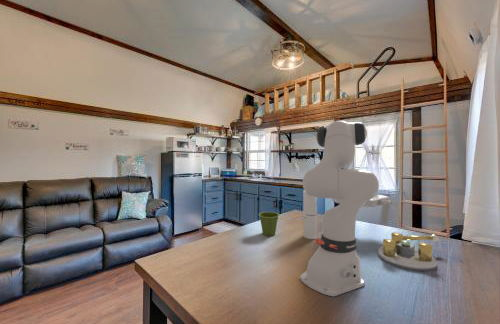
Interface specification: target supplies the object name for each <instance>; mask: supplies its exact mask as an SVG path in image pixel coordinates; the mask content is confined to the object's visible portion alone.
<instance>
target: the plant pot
mask: <svg viewBox="0 0 500 324" xmlns="http://www.w3.org/2000/svg"><path fill="white" fill-rule="evenodd" d="M258 217H259V220H260V225H261V231H262V234H263V236H267V237H272V236H274V235H276V233H277V225H278V220H279V217H280V213H278V212H273V211H262V212H260V213H258Z"/></svg>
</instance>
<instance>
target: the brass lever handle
mask: <svg viewBox="0 0 500 324" xmlns="http://www.w3.org/2000/svg"><path fill="white" fill-rule="evenodd" d="M390 239H391V240H394V241H395V248H396V245H397V244H398V243H400V242H401V241H402V240H405V241H432V242H434V243H436V242H438V241H439V236H437V235H436V234H431V235H404V234H403V233H402V232H401V233H400V232H391V237H390Z"/></svg>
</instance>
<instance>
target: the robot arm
mask: <svg viewBox="0 0 500 324" xmlns="http://www.w3.org/2000/svg"><path fill="white" fill-rule="evenodd" d="M367 137H368V130H367V128H366V126H365V124H364V123H362V122H359V121H358V122H357V121H355V122H347V121H345V120H334V121H333V122H331V123H330V124H329V125H323V126H322V125H321V126H320V127H319V128H318V129H317V130H316V135H315V138H316V142H317V144H318V145H319V146H320V148H321V147H322V148H323V154H322V155H323V156H322V158H321V160H320V161H319V163H317V165H316V166H314V167H313V168H312V169H310V170H307V171H306V173H305V174H304V175H303V179H302V188H303V191H305V192H306V193H307V194H308V195H310V196H314V197H317V198H319V199H331V200H332V201H333V202H334V203H335V204H338V205H337V206H334V207H331V208H329V209H327V210H326V211H325V212H324V213H323V215H322V234H321V235H320V238H318V237H317V238H316V239H315V241H314V242H315V244H316V245H319V247H318V248H317V250H316V251H315V252H314V253H313V255H312V256H311V257H310V259H309V260H308V262H307V268H306V270H305V271H304V272H303V273H301V274H300V276H299V279H300V281H301V282H302V283H303V284H305V286H307V287H309V288H310V289H312V290H314V291H315V292H318V293H320V294H323V295H326V296H330V297H336V296H339V295H342V294H344V293H347V292H350V291H353V290H356V289H358V288H361V287H365V280H364V279H363V278H362V271H361V260H360V257H359V256H358V254H357V251H356V250H357V244H358V243H357V237H356V222H357V216H358V214H359V211H360V210H361V208H366V209H368V208H376V207H380V206H383V205H385V206H391V205H392V206H393V205H394V201H393V200H391V198H390V196H387V195H382V194H377V193H378V192H379V187H380V184H379V179H378V178H377V175H376V174H375V173H373V172H372V171H368V170H364V169H357V168H350V166H351V164H352V163H353V162H354V158H355V155H356V149H355V147H356V146H360V145H363V144H364V143H365V142H366V139H367Z"/></svg>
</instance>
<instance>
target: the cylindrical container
mask: <svg viewBox="0 0 500 324" xmlns="http://www.w3.org/2000/svg"><path fill="white" fill-rule="evenodd" d="M302 193H303V194H302V199H303V200H302V201H303V203H302V211H303V213H302V214H303V215H302V216H303V219H302V222H303V225H302V227H303V230H302V235H303V238H304V239H308V240H314V239H315V240H316V239H317V238H318V230H317V229H318V225H317V224H318V221H317V220H318V214H317V213H318V206H317V205H318V197H314V196H310V195H308V194H307V193H306V192H305V190H303V191H302Z"/></svg>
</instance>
